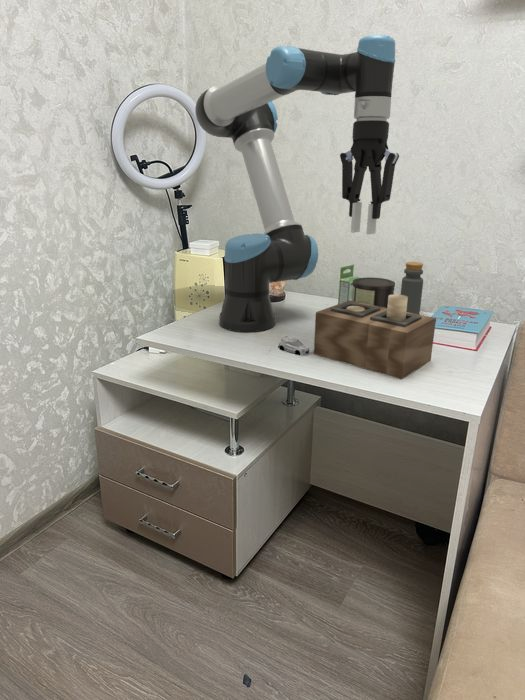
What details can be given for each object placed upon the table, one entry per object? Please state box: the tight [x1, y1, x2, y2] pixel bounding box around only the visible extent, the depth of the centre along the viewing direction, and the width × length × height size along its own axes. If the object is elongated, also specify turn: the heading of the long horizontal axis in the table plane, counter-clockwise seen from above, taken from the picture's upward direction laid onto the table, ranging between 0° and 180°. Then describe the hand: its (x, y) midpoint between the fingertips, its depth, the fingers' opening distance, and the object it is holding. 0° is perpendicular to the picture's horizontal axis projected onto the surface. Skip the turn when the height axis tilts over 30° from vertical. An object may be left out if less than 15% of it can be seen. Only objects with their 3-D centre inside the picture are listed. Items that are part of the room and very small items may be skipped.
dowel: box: [386, 293, 408, 322], centre depth 113 cm, size 4×4×9 cm
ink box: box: [337, 264, 361, 305], centre depth 152 cm, size 7×4×13 cm, turn 136°
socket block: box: [313, 300, 437, 380], centre depth 118 cm, size 22×14×11 cm, turn 49°
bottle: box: [399, 261, 424, 315], centre depth 150 cm, size 6×6×15 cm
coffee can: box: [352, 276, 396, 308], centre depth 132 cm, size 10×10×14 cm
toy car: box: [277, 335, 311, 356], centre depth 123 cm, size 4×8×3 cm, turn 48°
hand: (363, 232), depth 119 cm, fingers open, 3 cm apart
